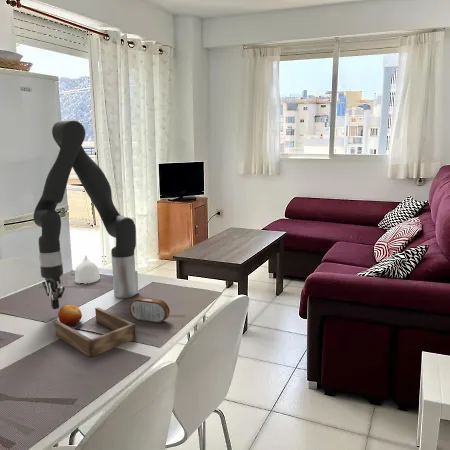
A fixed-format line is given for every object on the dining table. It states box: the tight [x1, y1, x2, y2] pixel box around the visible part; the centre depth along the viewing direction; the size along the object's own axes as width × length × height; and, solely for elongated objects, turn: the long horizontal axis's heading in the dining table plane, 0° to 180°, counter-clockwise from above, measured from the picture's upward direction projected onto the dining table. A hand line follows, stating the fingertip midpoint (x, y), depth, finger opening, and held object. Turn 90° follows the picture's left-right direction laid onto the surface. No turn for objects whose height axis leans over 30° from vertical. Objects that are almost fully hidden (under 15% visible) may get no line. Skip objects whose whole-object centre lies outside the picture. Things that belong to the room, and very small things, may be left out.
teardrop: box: [74, 255, 101, 285], centre depth 200 cm, size 11×11×12 cm
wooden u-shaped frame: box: [54, 307, 137, 358], centre depth 142 cm, size 16×22×5 cm
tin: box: [129, 296, 171, 324], centre depth 154 cm, size 15×3×8 cm, turn 71°
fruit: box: [57, 304, 83, 327], centre depth 153 cm, size 8×8×8 cm
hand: (55, 308), depth 160 cm, fingers closed
